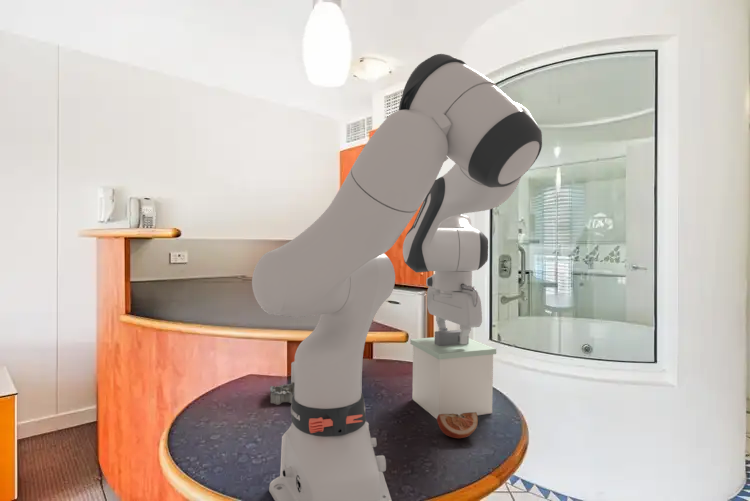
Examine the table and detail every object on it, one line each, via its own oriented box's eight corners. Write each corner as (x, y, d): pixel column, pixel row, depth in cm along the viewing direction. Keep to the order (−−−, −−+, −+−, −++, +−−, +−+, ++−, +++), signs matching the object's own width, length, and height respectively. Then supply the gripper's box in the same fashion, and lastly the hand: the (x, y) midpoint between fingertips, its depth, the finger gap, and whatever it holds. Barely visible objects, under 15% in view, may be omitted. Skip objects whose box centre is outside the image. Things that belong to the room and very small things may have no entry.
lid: (496, 358, 99) (496, 336, 99) (438, 364, 94) (439, 340, 93) (461, 343, 113) (462, 324, 113) (410, 347, 108) (410, 327, 108)
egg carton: (311, 393, 112) (311, 377, 112) (313, 403, 105) (313, 387, 105) (270, 395, 110) (270, 379, 110) (268, 406, 103) (269, 389, 103)
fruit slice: (470, 428, 91) (470, 405, 91) (484, 443, 84) (484, 418, 84) (433, 431, 89) (433, 408, 89) (444, 446, 83) (444, 421, 83)
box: (492, 413, 99) (493, 353, 99) (439, 421, 95) (439, 358, 94) (460, 392, 112) (461, 340, 112) (412, 399, 108) (413, 344, 107)
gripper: (489, 286, 94) (488, 348, 94) (444, 278, 113) (443, 329, 114) (464, 287, 92) (463, 350, 92) (423, 278, 111) (422, 331, 111)
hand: (452, 339), depth 103 cm, fingers open, 8 cm apart
